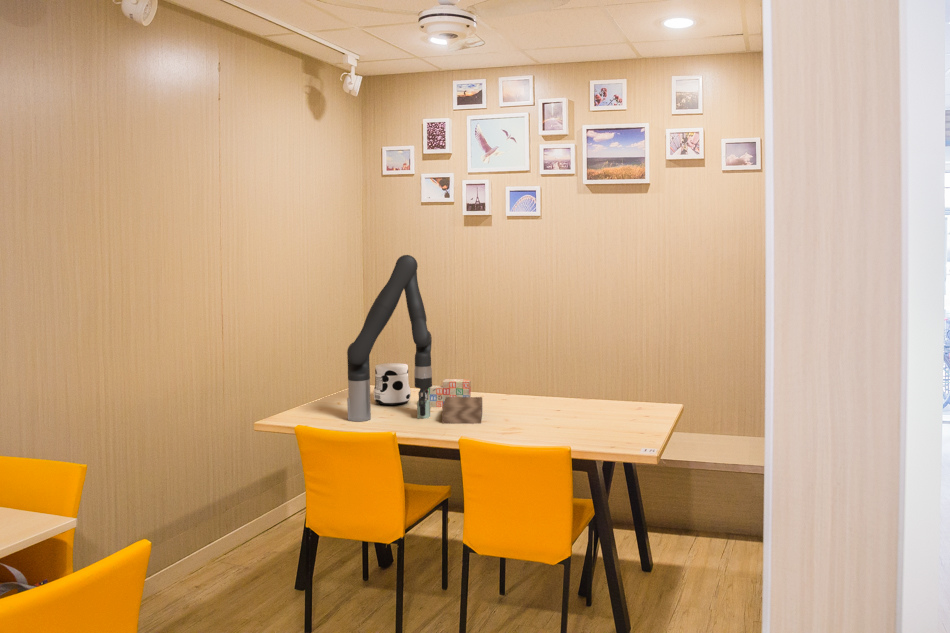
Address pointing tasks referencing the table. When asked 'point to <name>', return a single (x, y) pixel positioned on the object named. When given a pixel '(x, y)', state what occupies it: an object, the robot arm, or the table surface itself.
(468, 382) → the stack of blocks
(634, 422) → the table surface
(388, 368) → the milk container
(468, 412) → the block
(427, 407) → the sage block
